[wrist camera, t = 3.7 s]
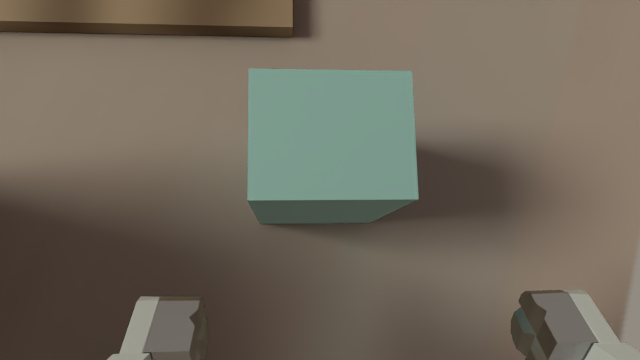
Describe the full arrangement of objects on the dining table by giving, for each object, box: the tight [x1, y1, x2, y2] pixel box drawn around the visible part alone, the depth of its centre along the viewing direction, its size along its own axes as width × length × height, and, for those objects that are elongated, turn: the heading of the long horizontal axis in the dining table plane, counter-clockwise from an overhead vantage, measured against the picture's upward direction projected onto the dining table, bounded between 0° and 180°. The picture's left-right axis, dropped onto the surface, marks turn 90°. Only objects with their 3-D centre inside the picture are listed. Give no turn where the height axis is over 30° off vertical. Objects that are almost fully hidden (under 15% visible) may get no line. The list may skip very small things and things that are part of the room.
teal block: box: [247, 69, 419, 224], centre depth 18 cm, size 5×4×8 cm
